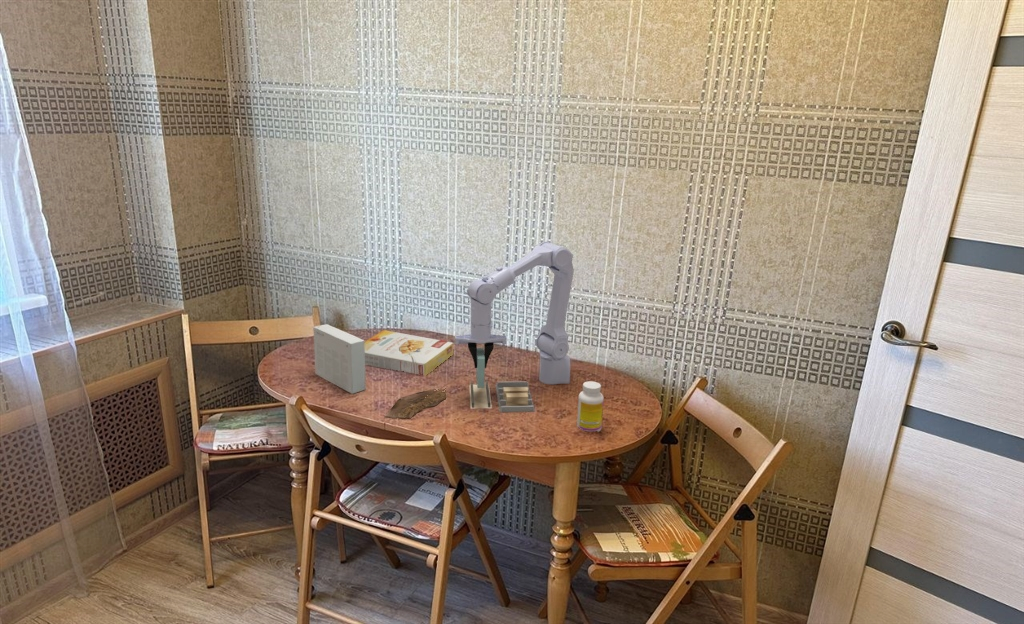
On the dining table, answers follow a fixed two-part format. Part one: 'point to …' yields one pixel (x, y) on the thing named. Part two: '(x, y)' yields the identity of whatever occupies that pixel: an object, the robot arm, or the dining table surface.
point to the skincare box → (339, 358)
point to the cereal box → (406, 352)
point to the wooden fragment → (415, 403)
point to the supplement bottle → (590, 407)
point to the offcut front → (516, 399)
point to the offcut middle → (514, 390)
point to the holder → (480, 396)
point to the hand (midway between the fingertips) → (480, 366)
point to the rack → (503, 402)
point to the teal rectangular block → (480, 368)
